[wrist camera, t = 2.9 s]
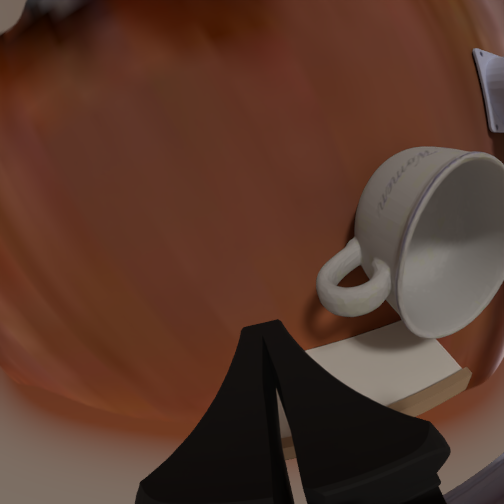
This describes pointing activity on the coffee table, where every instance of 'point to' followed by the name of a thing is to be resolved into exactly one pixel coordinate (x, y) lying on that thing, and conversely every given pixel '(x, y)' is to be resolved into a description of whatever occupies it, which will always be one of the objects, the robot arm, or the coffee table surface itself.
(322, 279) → the teacup
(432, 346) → the cream slab
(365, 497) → the robot arm
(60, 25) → the coffee table surface
